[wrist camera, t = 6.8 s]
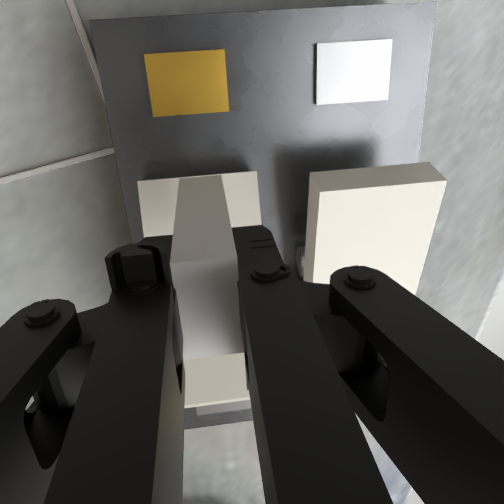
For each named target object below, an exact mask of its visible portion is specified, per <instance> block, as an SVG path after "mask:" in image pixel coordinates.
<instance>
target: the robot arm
mask: <svg viewBox="0 0 504 504" xmlns="http://www.w3.org/2000/svg"><path fill="white" fill-rule="evenodd" d="M105 262H106V267H107V271H108V275H109V280H110V284H111V288H112V293H111V296H110V299H109V302H108V303H107V304H105V305H103V306H100V307H97V308H94V309H90V310H87V311H83V312H80V313H77V312H76V309H75V305H74V304H73V303H72V302H70V301H68V300H62V299H52V300H49V299H47V300H42V301H41V302H40V301H38V302H35V303H33V304H31V305H29V306H27V307H25V308H23V309H21V310H20V311H18V312H17V313H16V314H14V315H13V316H12V317H11V318H10V319H9V320H8V321H7V322H6V323H5V324H4V325H3V326H1V327H0V504H182V490H183V449H184V407H185V369H184V362H183V351H184V358H185V360H187V359H195V358H204V357H212V356H221V355H229V354H237V353H244V357H245V370H246V383H247V390H249V395H250V402H251V408H252V415H253V422H254V428H255V435H256V442H257V449H258V455H259V462H260V469H261V475H262V482H263V489H264V495H265V502H266V504H393V502H392V500H391V497H390V495H389V493H388V490H387V488H386V486H385V483H384V481H383V478H382V476H381V474H380V471H379V469H378V467H377V464H376V462H375V460H374V457H373V455H372V452H371V450H370V448H369V445H368V443H367V441H366V438H365V436H364V434H363V431H362V429H361V427H360V424H359V422H358V419H357V417H356V415H355V413H356V414H357V416H358V417H359V418H360V420H361V421H362V422H363V424H364V425H365V426H366V428H367V429H368V430H369V431H370V433H371V434H372V435H373V437H374V438H375V439H376V441H377V442H378V443H379V445H380V446H381V447H382V448H383V450H384V451H385V452H386V454H387V455H388V456H389V458H390V459H391V460H392V462H393V463H394V464H395V465H396V467H397V468H398V469H399V471H400V472H401V473H402V475H403V476H404V477H405V478H406V480H407V481H408V482H409V484H410V485H411V486H412V488H413V489H414V490H415V491H416V493H417V494H418V495H419V497H420V498H421V499H422V501H423V502H424V503H425V504H504V360H502V359H501V358H500V357H498V356H497V355H496V354H494V353H493V352H491V351H490V350H489V349H487V348H486V347H485V346H483V345H482V344H480V343H479V342H478V341H476V340H475V339H474V338H472V337H471V336H470V335H468V334H467V333H465V332H464V331H463V330H461V329H460V328H459V327H457V326H456V325H455V324H453V323H452V322H450V321H449V320H448V319H446V318H445V317H444V316H442V315H441V314H440V313H438V312H437V311H435V310H434V309H433V308H431V307H430V306H429V305H427V304H426V303H425V302H423V301H422V300H420V299H419V298H418V297H416V296H415V295H414V294H412V293H411V292H409V291H408V290H407V289H405V288H404V287H403V286H401V285H400V284H399V283H397V282H396V281H394V280H393V279H392V278H390V277H389V276H388V275H386V274H385V273H383V272H381V271H379V270H377V269H374V268H370V267H367V266H359V265H355V266H350V267H343V268H341V269H338V270H336V271H334V272H333V273H332V274H331V275H330V284H322V283H312V282H306V281H302V280H299V279H298V278H297V276H296V273H295V271H294V270H293V269H292V268H291V267H290V266H288V265H286V264H284V262H283V260H282V257H281V255H280V252H279V250H278V247H277V245H276V242H275V240H274V237H273V235H272V232H271V230H269V229H267V228H266V227H264V226H263V225H254V226H243V227H233V228H231V223H230V217H229V212H228V207H227V202H226V197H225V192H224V187H223V181H222V176H221V175H211V176H200V177H188V178H179V185H178V194H177V203H176V212H175V221H174V230H173V235H162V236H152V237H145V238H144V239H142V240H141V241H140V242H139V243H134V244H129V245H125V246H122V247H119V248H117V249H115V250H113V251H112V252H110V253H109V254H108V255H107V256H106V257H105ZM32 396H33V398H34V402H33V403H32V404H31V406H30V407H29V408H28V409H27V410H25V408H26V406H27V404H28V402H29V400H30V398H31V397H32Z"/></svg>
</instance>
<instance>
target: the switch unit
mask: <svg viewBox="0 0 504 504" xmlns="http://www.w3.org/2000/svg"><path fill="white" fill-rule="evenodd" d="M436 3H437V1H431V2H413V3H394V4H375V5H357V6H338V7H320V8H301V9H283V10H264V11H245V12H227V13H208V14H190V15H171V16H153V17H134V18H115V19H97V20H89V23H90V28H91V33H92V39H93V44H94V49H95V54H96V59H97V65H98V70H99V75H100V80H101V85H102V91H103V96H104V101H105V106H106V111H107V117H108V122H109V127H110V132H111V137H112V143H113V148H114V153H115V158H116V163H117V169H118V174H119V179H120V184H121V189H122V195H123V200H124V205H125V210H126V215H127V221H128V226H129V231H130V236H131V241H132V244H134V243H139V242H140V241H141V240H142V239H144V234H143V226H142V217H141V209H140V201H139V192H138V184H137V181H145V180H157V179H168V178H180V177H192V176H203V175H215V174H226V173H238V172H250V171H257V179H258V190H259V202H260V213H261V224H262V225H263V226H264V227H266V228H267V229H269V230H271V232H272V235H273V237H274V240H275V242H276V245H277V247H278V250H279V252H280V255H281V257H282V260H283V262H284V264H286V265H288V266H290V267H291V268H292V269H293V270H294V271H295V273H296V276H297V278H298V279H299V280H302V281H303V277H304V260H305V244H306V227H307V210H308V194H309V177H310V172H320V171H331V170H343V169H354V168H366V167H377V166H388V165H400V164H411V163H418V161H419V152H420V144H421V135H422V126H423V117H424V108H425V100H426V91H427V82H428V73H429V65H430V56H431V47H432V38H433V29H434V21H435V12H436ZM251 420H253V415H252V408H251V402H250V400H244V401H236V402H228V403H221V404H213V405H206V406H198V407H191V408H184V430H185V429H192V428H200V427H207V426H214V425H221V424H229V423H236V422H243V421H251Z"/></svg>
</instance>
